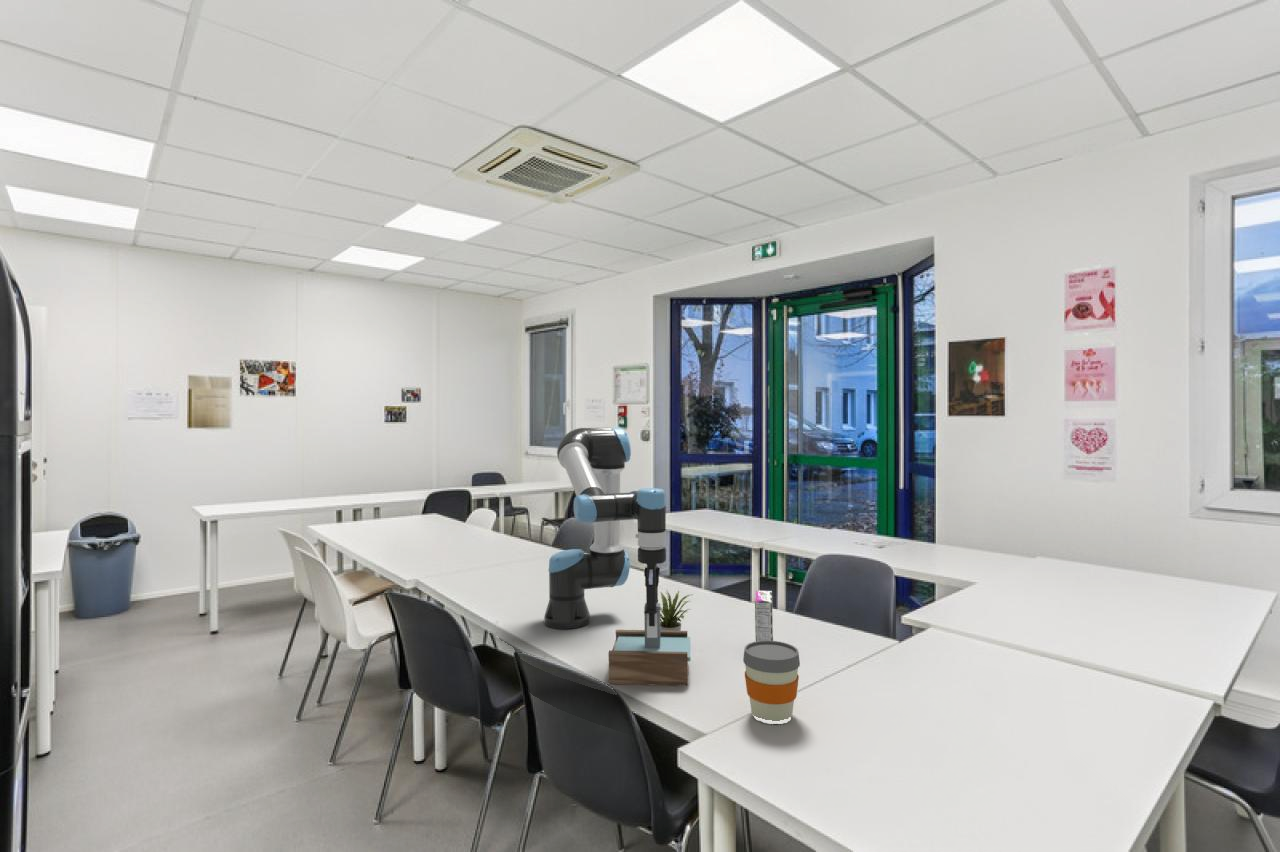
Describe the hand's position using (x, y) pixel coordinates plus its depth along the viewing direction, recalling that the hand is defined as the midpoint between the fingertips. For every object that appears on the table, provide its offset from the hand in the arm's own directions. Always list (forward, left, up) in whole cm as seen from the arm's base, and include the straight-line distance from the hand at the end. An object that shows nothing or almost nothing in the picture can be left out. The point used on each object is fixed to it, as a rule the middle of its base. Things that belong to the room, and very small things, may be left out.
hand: (652, 634), depth 169 cm
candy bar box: (-16, +31, -10) cm, 37 cm away
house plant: (-20, +5, -10) cm, 23 cm away
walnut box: (0, -1, -10) cm, 10 cm away
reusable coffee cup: (+23, +28, -10) cm, 38 cm away
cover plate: (0, 0, -4) cm, 4 cm away
